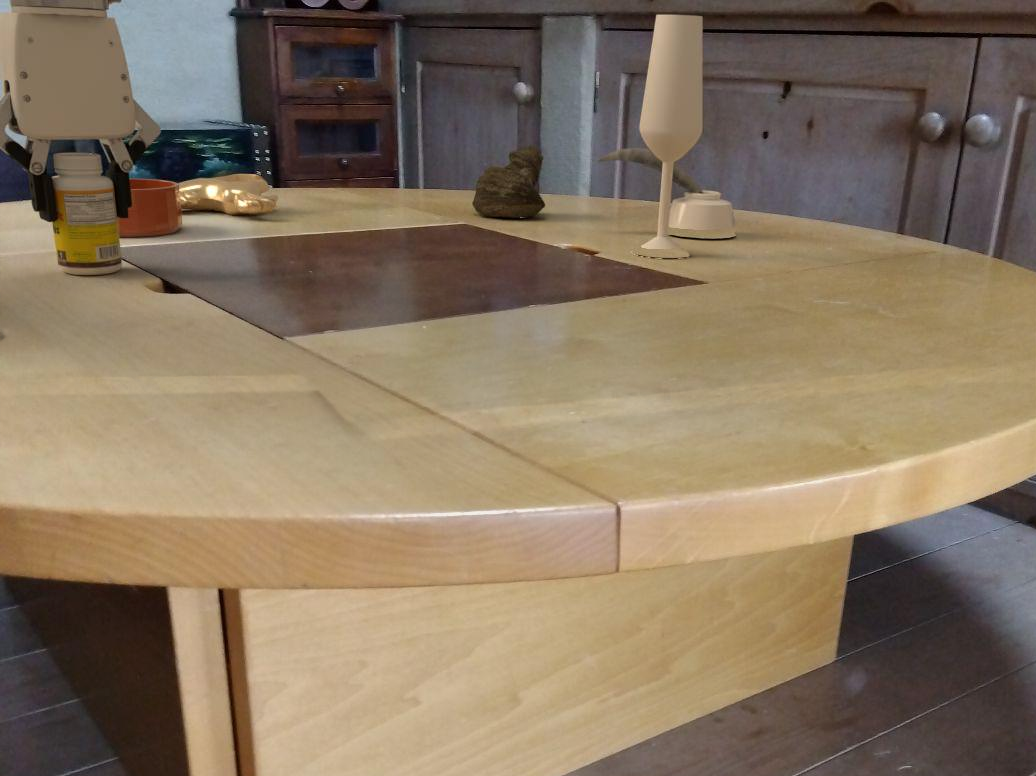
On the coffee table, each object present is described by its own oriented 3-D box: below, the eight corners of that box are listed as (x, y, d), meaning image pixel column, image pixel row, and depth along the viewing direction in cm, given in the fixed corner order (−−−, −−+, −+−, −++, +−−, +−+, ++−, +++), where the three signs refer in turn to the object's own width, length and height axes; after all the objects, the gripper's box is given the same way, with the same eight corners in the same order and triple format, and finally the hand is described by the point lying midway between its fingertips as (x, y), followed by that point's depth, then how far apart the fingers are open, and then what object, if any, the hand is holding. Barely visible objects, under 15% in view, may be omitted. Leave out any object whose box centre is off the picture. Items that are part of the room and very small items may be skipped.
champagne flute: (620, 250, 126) (634, 14, 117) (671, 248, 129) (690, 17, 119) (649, 260, 120) (667, 13, 111) (703, 257, 123) (725, 16, 114)
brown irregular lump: (575, 172, 144) (559, 163, 153) (500, 117, 139) (488, 111, 148) (525, 248, 146) (512, 234, 155) (450, 196, 142) (441, 185, 151)
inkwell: (746, 240, 136) (756, 154, 132) (602, 239, 133) (607, 150, 129) (722, 229, 144) (730, 147, 140) (586, 228, 141) (590, 144, 137)
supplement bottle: (65, 265, 106) (50, 150, 102) (127, 265, 107) (115, 152, 102) (52, 276, 101) (36, 156, 96) (117, 276, 102) (104, 157, 97)
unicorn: (320, 179, 142) (216, 199, 129) (322, 211, 144) (220, 234, 131) (211, 164, 152) (104, 182, 139) (215, 194, 154) (110, 215, 141)
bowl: (94, 240, 119) (89, 191, 117) (62, 226, 128) (56, 180, 126) (198, 234, 126) (194, 187, 124) (161, 220, 134) (157, 177, 132)
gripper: (143, 3, 102) (162, 209, 109) (-64, -9, 92) (-28, 217, 99) (174, 2, 97) (192, 218, 104) (-43, -11, 87) (-7, 229, 94)
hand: (84, 216), depth 102 cm, fingers closed on supplement bottle, 5 cm apart
